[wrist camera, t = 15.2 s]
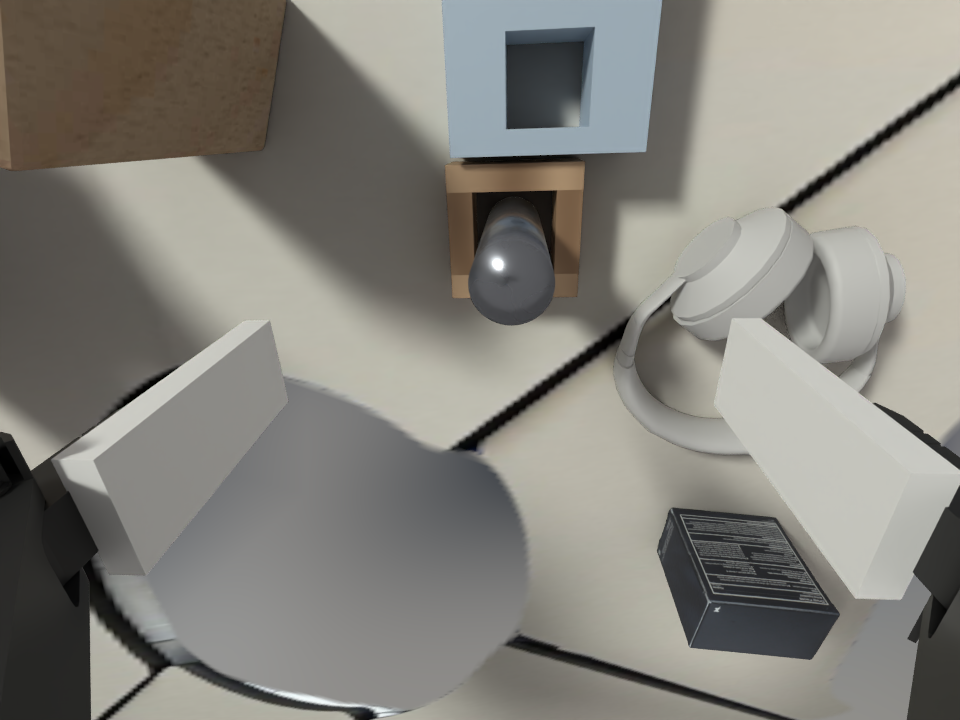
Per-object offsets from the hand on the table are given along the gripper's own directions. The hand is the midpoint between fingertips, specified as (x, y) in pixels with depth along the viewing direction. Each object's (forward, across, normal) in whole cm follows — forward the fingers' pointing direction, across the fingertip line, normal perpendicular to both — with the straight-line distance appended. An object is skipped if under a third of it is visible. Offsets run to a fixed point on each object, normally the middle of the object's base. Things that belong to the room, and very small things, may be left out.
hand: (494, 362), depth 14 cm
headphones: (+25, +18, -9) cm, 32 cm away
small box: (+25, +21, -31) cm, 45 cm away
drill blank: (+25, +1, 0) cm, 25 cm away
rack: (+25, +1, 0) cm, 25 cm away
